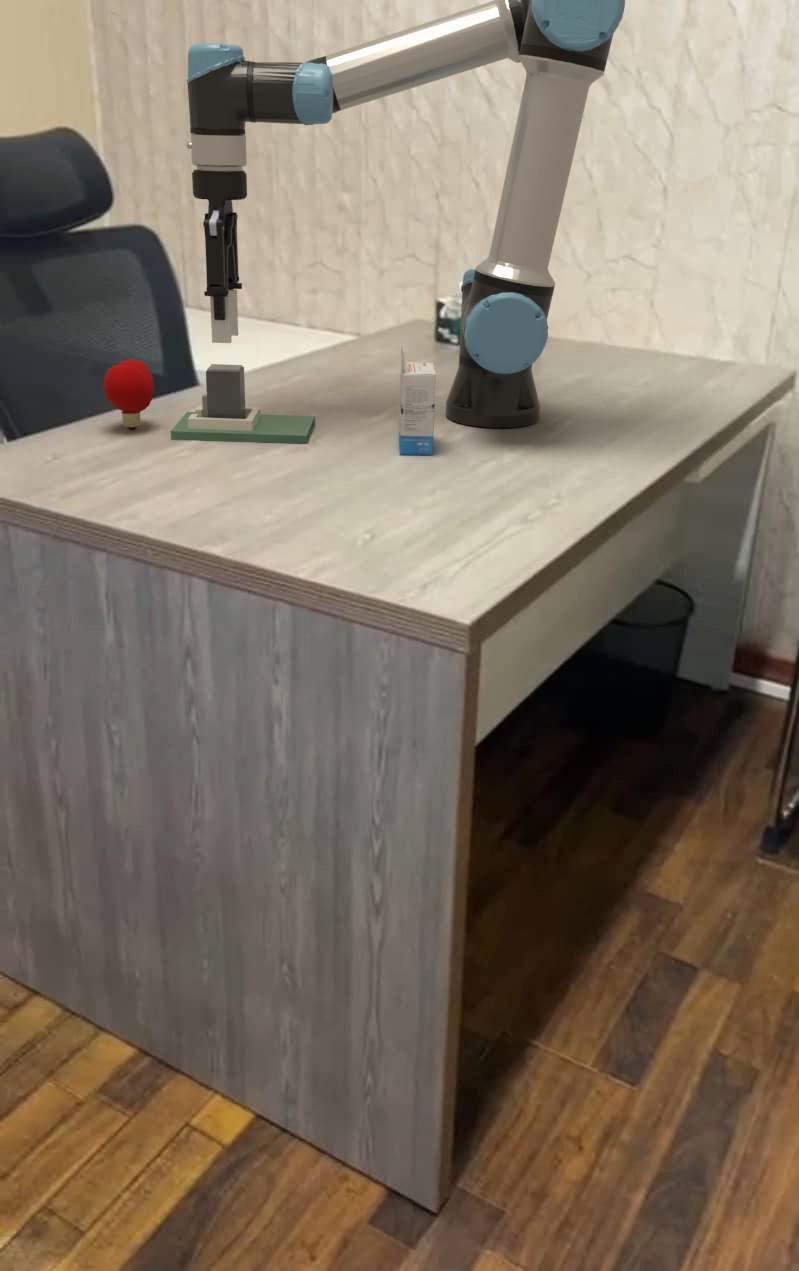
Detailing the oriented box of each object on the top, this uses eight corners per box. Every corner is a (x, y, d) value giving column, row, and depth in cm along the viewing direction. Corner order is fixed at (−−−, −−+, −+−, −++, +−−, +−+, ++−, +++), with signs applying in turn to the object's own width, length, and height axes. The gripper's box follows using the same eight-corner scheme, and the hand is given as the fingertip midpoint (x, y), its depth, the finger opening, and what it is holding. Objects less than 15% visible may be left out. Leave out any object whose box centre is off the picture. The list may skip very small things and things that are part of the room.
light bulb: (141, 438, 171) (137, 370, 167) (97, 435, 172) (91, 367, 168) (165, 423, 179) (161, 358, 175) (123, 420, 180) (118, 355, 176)
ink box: (434, 456, 166) (438, 352, 160) (399, 455, 166) (402, 351, 160) (430, 440, 174) (434, 340, 168) (397, 439, 174) (400, 340, 168)
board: (314, 423, 181) (314, 406, 180) (306, 443, 170) (306, 425, 169) (187, 419, 182) (186, 402, 181) (171, 439, 171) (170, 421, 170)
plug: (245, 419, 177) (243, 364, 174) (241, 426, 174) (239, 370, 170) (206, 418, 178) (204, 363, 174) (201, 424, 174) (199, 369, 170)
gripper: (204, 164, 169) (211, 327, 179) (178, 171, 153) (187, 349, 162) (255, 166, 169) (259, 328, 179) (235, 172, 152) (240, 351, 162)
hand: (225, 338), depth 170 cm, fingers open, 5 cm apart
